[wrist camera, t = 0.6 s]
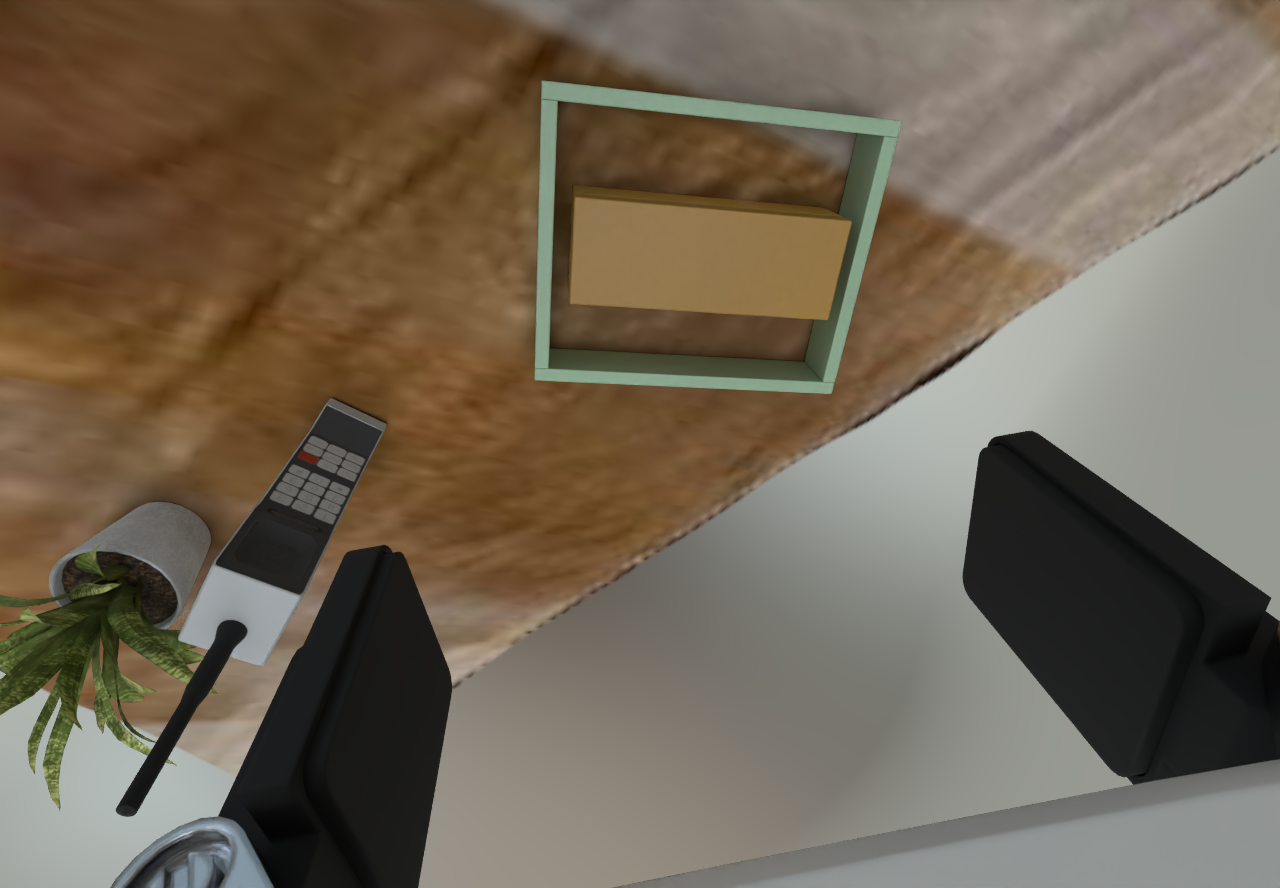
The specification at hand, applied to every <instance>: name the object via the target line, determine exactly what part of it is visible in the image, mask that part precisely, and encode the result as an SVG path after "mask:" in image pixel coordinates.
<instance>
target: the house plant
mask: <svg viewBox="0 0 1280 888" xmlns="http://www.w3.org/2000/svg"><path fill="white" fill-rule="evenodd" d="M210 543H211V535H210V531H209V529H208V527H207V525H206V524H205V522H204V521H203V520H202V519H201V518H200V517H199V516H198V515H196V514H195V513H194V512H192V511H191V510H189V509H187V508H184V507H182V506H180V505H176V504H173V503H168V502H152V503H147V504H144V505H141V506H139V507H137V508H136V509H134V510H133V511H131V512H130V513H128V514H127V515H125V516H124V517H122V518H121V519H119V520H118V521H116V522H115V523H113V524H112V525H110V526H109V527H107V528H106V529H104V530H103V531H101V532H100V533H98V534H97V535H95V536H94V537H92V538H91V539H89V540H88V541H86V542H85V543H83V544H82V545H80V546H79V547H77V548H76V549H74V550H73V551H71V552H70V553H68V554H67V555H65V556H64V557H63V558H61V559H60V560H59V561H58V562H56V564H55V565H54V567H53V569H52V570H51V572H50V578H49V588H50V591H51V595H52V597H51V598H47V599H32V600H26V599H19V598H12V597H7V596H1V595H0V606H10V607H22V606H29V607H30V606H33V605H41V604H45V603H48V602H52V601H55V602H56V603H57V605H58V606H59V608H56V609H53V610H50V611H47V612H44V613H41V614H38V615H34V614H33V613H32V612H31V611H30V610H29V609H28V608H29V607H27V608H26V609H24V610H23V612H22V614H21V616H20V617H19V618H20V619H21V620H18V621H14V622H9V623H2V624H0V626H8V625H15V624H21V623H25V622H29V621H34V623H31V624H29V625H27V626H25V627H23V628H21V629H19V630H17V631H15V632H13V633H12V634H11V635H10V636H9V637H8V638H7V639H6V640H4V641H2V642H0V653H1V654H0V671H2V672H3V673H5V674H6V675H5V676H4V677H3V678H2V679H0V715H1V714H3V713H4V712H6V711H7V710H9V709H10V708H12V707H14V706H16V705H18V704H20V703H21V702H23V701H25V700H26V699H28V698H30V697H31V696H33V695H34V694H35V693H36V692H37V691H38V690H40V689H41V688H42V687H43V686H44V685H45V684H46V683H47V682H48V681H49V680H50V679H51V678H52V677H53V676H54V675H55V674H56V673H57V672H58V671H59V670H60V669H61V668H62V669H61V671H60V673H59V675H58V677H57V680H56V682H55V685H54V687H53V689H52V691H51V693H50V696H49V698H48V700H47V701H46V703H45V706H44V707H43V709H42V711H41V713H40V715H39V717H38V719H37V722H36V724H35V726H34V728H33V731H32V733H31V736H30V739H29V741H28V757H29V764H30V767H31V769H32V770H33V772H34V773H35V759H36V754H37V750H38V746H39V743H40V740H41V737H42V734H43V732H44V729H45V727H46V725H47V723H48V721H49V719H50V717H51V715H52V713H53V711H54V709H55V707H56V704H57V702H58V699H59V697H61V702H62V705H61V707H60V710H59V713H58V716H57V718H56V721H55V724H54V727H53V729H52V733H51V735H50V739H49V741H48V745H47V749H46V753H45V758H44V762H43V768H44V774H45V779H46V782H47V785H48V789H49V792H50V795H51V798H52V800H53V801H54V802H55V804H56V805H57V806H58V808H59V809H60V800H59V773H60V764H61V760H62V756H63V751H64V748H65V745H66V742H67V739H68V737H69V734H70V731H71V729H72V726H73V723H75V724H76V725H77V726H78V727H79V728H80V729H82V728H81V725H80V724H79V722H78V720H77V716H76V715H77V714H76V712H77V706H78V701H79V697H80V693H81V690H82V686H83V683H84V680H85V676H86V673H87V670H88V667H89V663H90V660H91V657H92V654H93V664H92V672H93V678H94V684H95V689H96V698H95V702H94V707H95V714H96V719H97V725H98V727H99V728H100V730H101V731H102V733H103V731H104V724H105V722H106V724H107V726H108V727H109V729H110V730H111V731H112V732H113V734H114V735H115V736H116V738H117V739H118V740H119V741H121V742H123V743H124V744H126V745H128V746H129V747H131V748H133V749H135V750H137V751H139V752H141V753H143V754H145V755H149V753H150V752H151V750H152V749H150V748H149V747H147V746H145V745H144V744H143V743H141V742H140V741H139V740H137V739H136V738H135V737H134V736H133V735H132V734H131V733H130V732H128V731H127V730H126V729H125V728H124V726H123V725H122V724H121V722H120V721H119V720H118V718H117V717H116V715H115V713H114V710H113V708H112V706H111V703H110V698H111V696H112V697H113V698H115V699H116V700H117V703H118V707H119V712H120V715H121V717H122V719H123V722H124V724H125V726H126V727H127V728H128V729H129V730H130V731H131V732H132V733H134V734H135V735H137V736H139V737H141V738H143V739H145V740H147V741H150V742H155V741H152V740H150V739H148V738H146V737H144V736H143V735H141V734H139V733H138V732H137V731H136V730H134V729H133V727H132V726H131V725H130V724H129V723H128V721H127V720H126V718H125V716H124V714H123V712H122V709H121V705H120V701H121V702H130V703H131V702H137V701H141V700H144V697H143V696H142V695H140V694H139V693H138V692H137V691H139V692H142V693H145V694H146V693H151V692H157V691H155V690H152V689H149V688H147V687H144V686H141V685H138V684H136V683H134V682H133V681H131V680H129V679H128V678H126V677H124V676H123V675H122V674H121V673H120V671H119V668H118V662H117V658H118V647H119V637H120V639H121V640H122V641H123V642H125V643H126V644H127V645H128V646H130V647H131V648H132V649H134V650H135V651H137V652H138V653H139V654H141V655H142V656H144V657H145V658H147V659H148V660H149V661H151V662H152V663H154V664H155V665H157V666H158V667H160V668H161V669H162V670H164V671H165V672H167V673H169V674H170V675H172V676H173V677H175V678H177V679H179V680H180V681H182V682H184V683H186V684H188V683H189V681H190V680H191V678H192V676H193V675H194V673H193V672H192V671H191V670H190V669H189V668H188V666H187V665H186V664H192V663H195V662H199V661H202V660H203V658H204V657H205V656H202V655H200V654H198V653H195V652H192V651H189V650H186V649H190V648H195V647H198V646H195V645H191V644H188V643H185V642H182V641H179V640H178V636H179V634H180V632H181V630H166V629H167V628H169V627H170V626H171V625H173V624H174V623H175V622H176V620H177V619H178V617H179V616H180V614H181V612H182V610H183V608H184V605H185V603H186V601H187V598H188V596H189V594H190V591H191V589H192V587H193V585H194V582H195V580H196V578H197V575H198V573H199V571H200V568H201V566H202V564H203V561H204V559H205V557H206V554H207V552H208V550H209V548H210ZM100 637H101V640H102V644H103V648H104V651H103V668H102V675H101V668H100V661H99V647H100ZM182 648H183V649H182ZM6 650H9V651H6ZM4 651H6V652H4ZM2 652H4V653H2ZM121 676H122V677H123V678H122V677H121ZM134 689H135V690H137V691H135V690H134ZM158 693H159V692H158ZM210 693H215V694H219V693H217V692H216V691H215V690H214V689H213V688H211V690H210ZM155 743H156V742H155ZM166 763H170V764H174V763H173V762H171V761H170V760H168V759H167V761H166ZM174 765H175V764H174Z"/></svg>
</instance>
